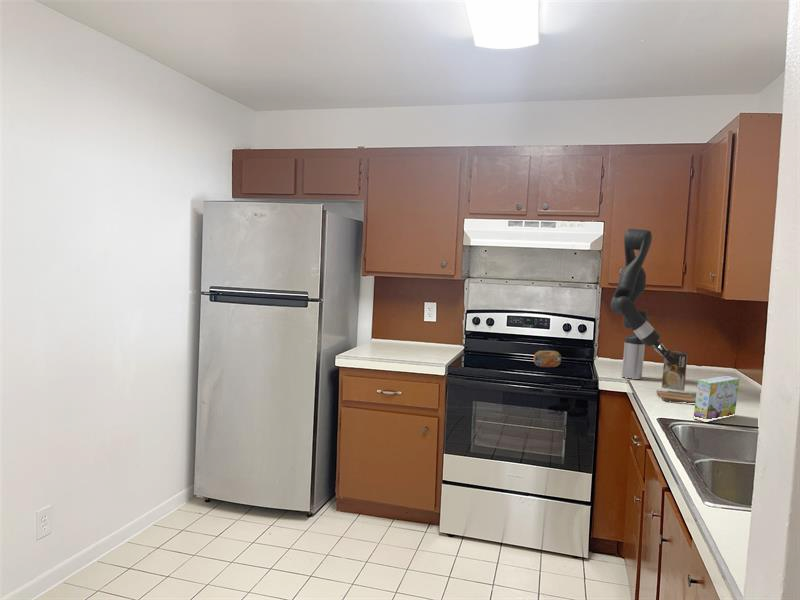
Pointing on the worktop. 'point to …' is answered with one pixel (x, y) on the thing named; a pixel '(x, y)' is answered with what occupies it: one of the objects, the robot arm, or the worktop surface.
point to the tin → (547, 358)
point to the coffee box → (675, 371)
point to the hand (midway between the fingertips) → (671, 361)
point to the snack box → (716, 397)
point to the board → (675, 397)
